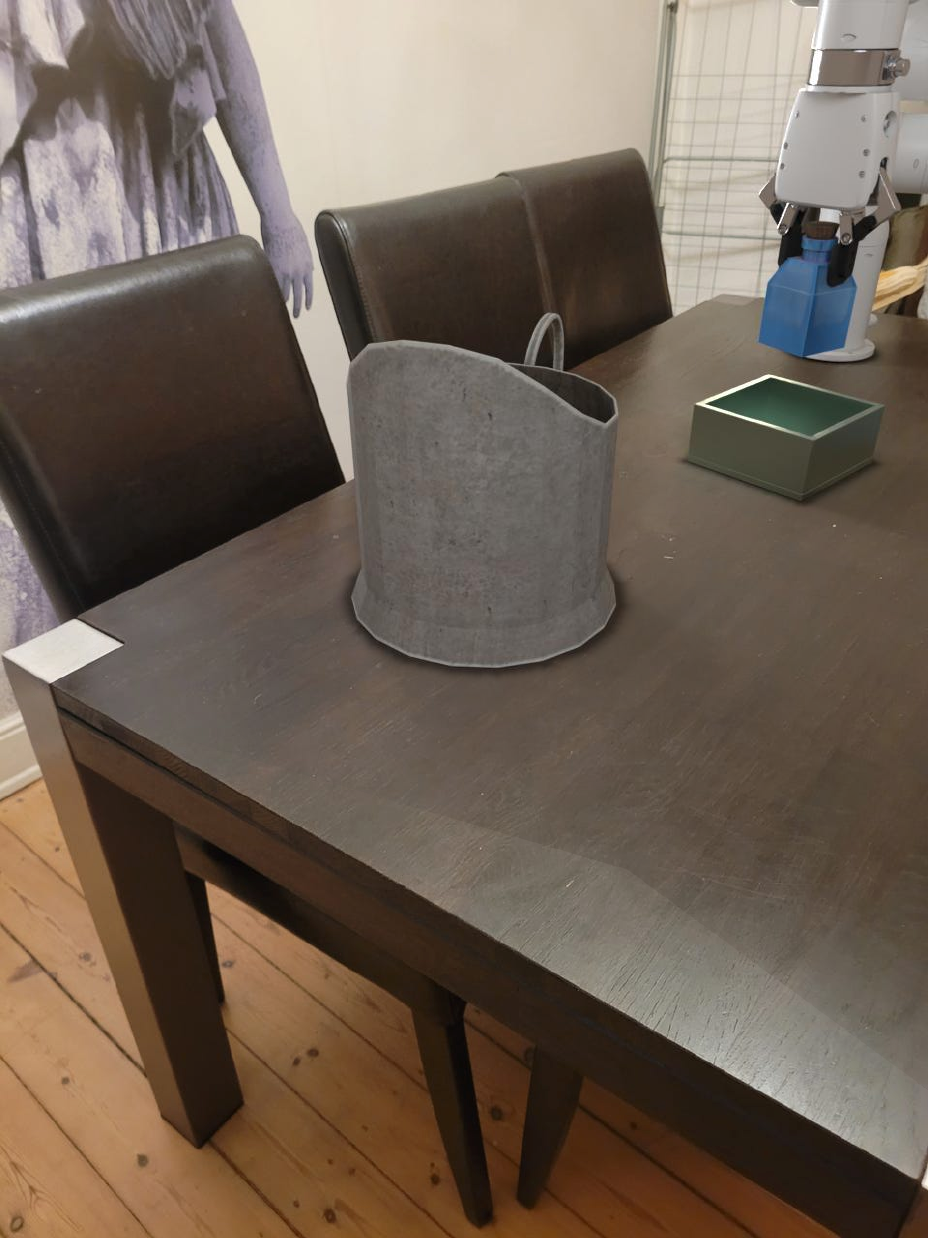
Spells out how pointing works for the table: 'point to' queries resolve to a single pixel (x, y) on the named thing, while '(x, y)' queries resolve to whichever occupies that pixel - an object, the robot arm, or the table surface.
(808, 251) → the perfume bottle
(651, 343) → the table surface
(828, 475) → the basket
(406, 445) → the coal scuttle
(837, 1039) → the table surface
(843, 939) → the table surface
